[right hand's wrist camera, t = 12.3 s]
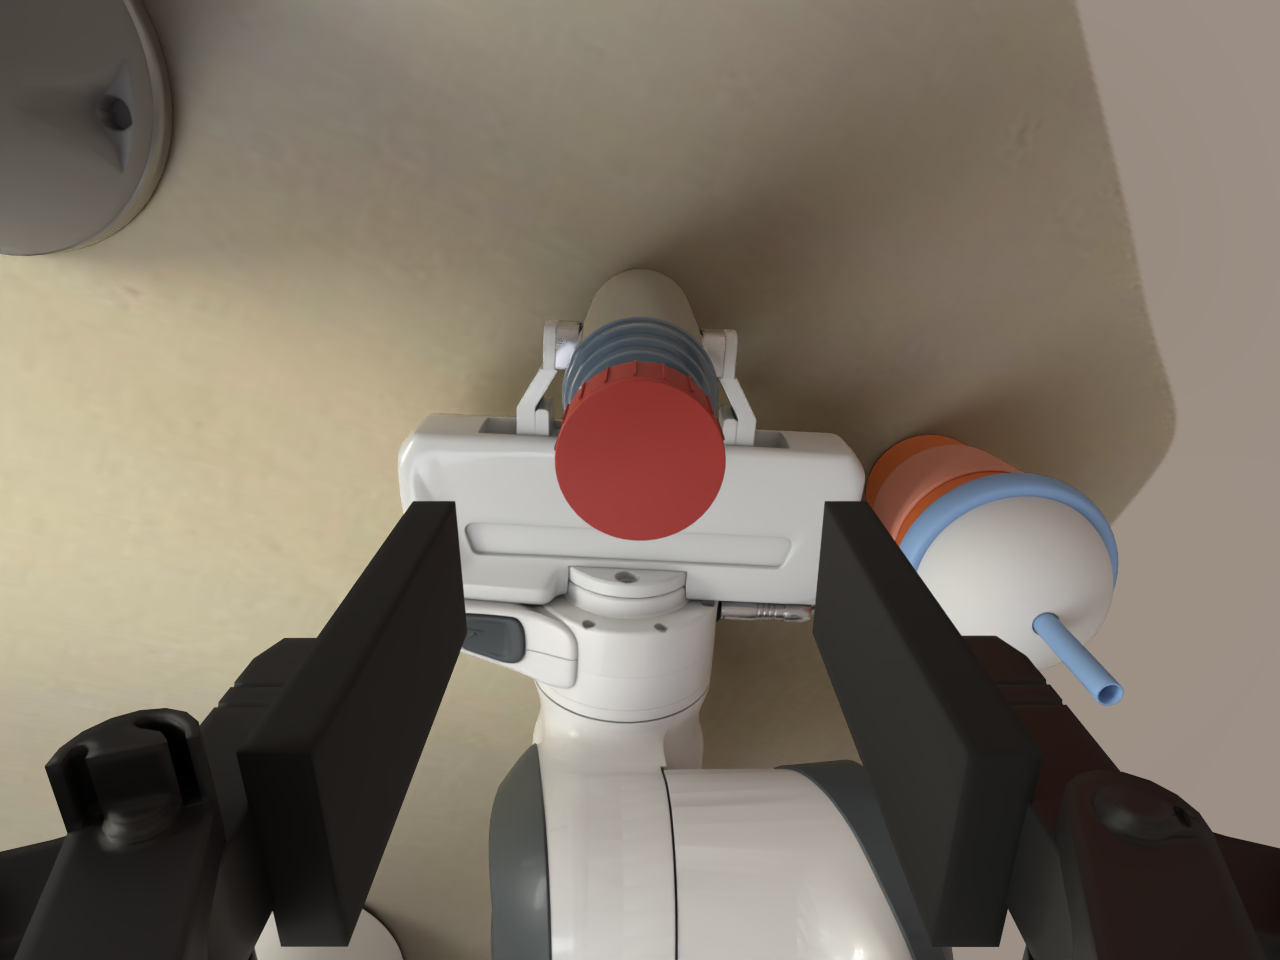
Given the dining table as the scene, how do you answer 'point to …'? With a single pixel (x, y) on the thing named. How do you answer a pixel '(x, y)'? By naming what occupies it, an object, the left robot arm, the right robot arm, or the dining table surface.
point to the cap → (640, 452)
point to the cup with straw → (1002, 551)
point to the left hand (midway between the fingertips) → (640, 326)
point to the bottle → (640, 333)
